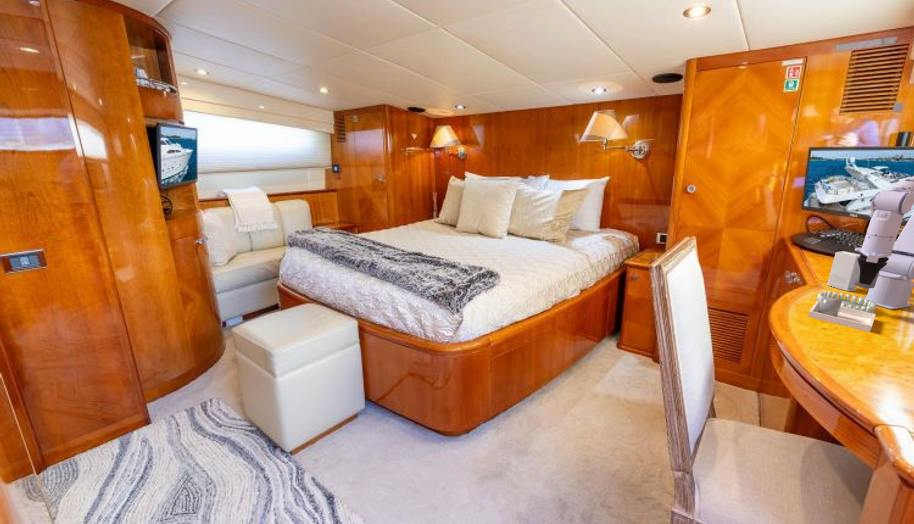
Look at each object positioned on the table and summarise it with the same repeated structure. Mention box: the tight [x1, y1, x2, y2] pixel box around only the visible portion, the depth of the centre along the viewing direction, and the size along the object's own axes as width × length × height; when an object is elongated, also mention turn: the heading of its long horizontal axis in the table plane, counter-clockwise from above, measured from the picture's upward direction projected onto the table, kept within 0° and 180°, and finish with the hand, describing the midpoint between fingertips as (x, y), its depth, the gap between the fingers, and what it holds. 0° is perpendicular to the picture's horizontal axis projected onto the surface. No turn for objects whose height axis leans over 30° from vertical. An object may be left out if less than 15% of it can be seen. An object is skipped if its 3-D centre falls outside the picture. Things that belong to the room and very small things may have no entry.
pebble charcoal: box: [854, 269, 879, 289], centre depth 109 cm, size 4×4×4 cm
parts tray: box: [807, 300, 877, 333], centre depth 105 cm, size 12×12×2 cm
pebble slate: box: [818, 297, 842, 317], centre depth 107 cm, size 4×4×4 cm
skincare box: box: [827, 250, 861, 292], centre depth 129 cm, size 6×4×12 cm
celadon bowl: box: [816, 291, 878, 314], centre depth 114 cm, size 12×12×3 cm
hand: (865, 282), depth 109 cm, fingers closed on pebble charcoal, 4 cm apart
